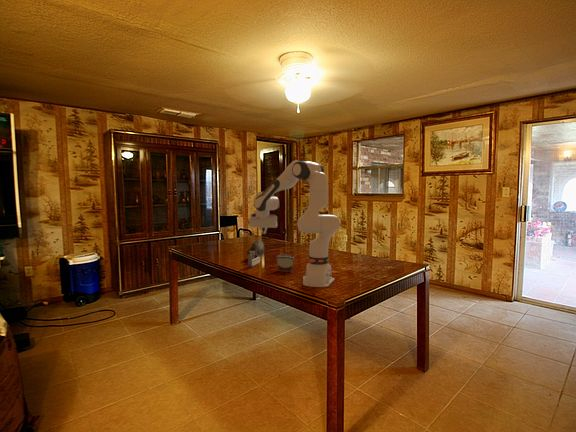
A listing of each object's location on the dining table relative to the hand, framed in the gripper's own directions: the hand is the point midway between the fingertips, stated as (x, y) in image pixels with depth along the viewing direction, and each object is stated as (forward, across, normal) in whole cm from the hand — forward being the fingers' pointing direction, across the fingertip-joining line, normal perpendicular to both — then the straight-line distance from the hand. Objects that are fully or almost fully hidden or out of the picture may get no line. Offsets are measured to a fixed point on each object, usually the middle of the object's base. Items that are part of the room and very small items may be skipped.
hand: (263, 233), depth 218 cm
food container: (+23, -19, +10) cm, 31 cm away
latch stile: (+22, +11, -6) cm, 25 cm away
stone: (+22, +13, -20) cm, 33 cm away
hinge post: (+23, +7, +8) cm, 25 cm away
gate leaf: (+22, +6, 0) cm, 23 cm away
